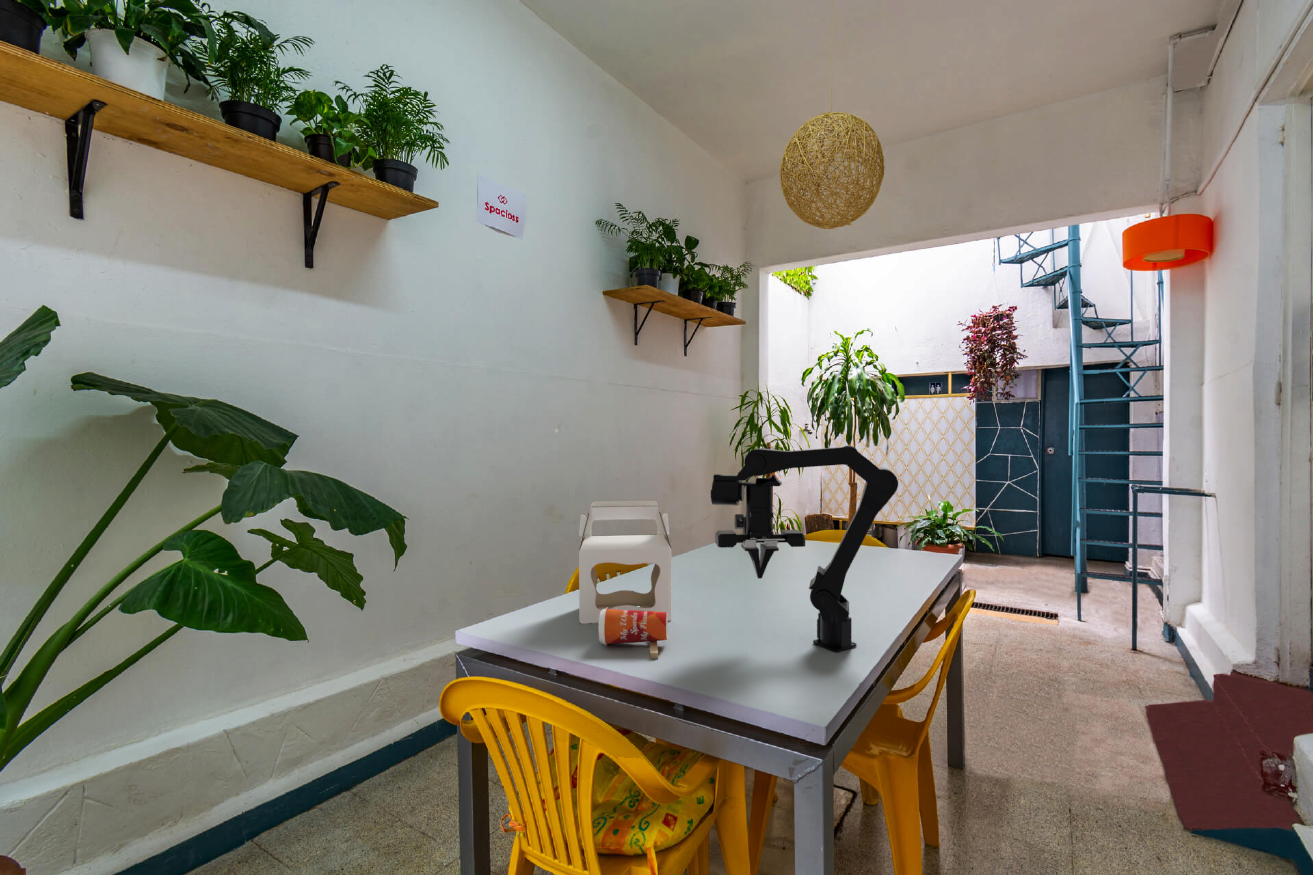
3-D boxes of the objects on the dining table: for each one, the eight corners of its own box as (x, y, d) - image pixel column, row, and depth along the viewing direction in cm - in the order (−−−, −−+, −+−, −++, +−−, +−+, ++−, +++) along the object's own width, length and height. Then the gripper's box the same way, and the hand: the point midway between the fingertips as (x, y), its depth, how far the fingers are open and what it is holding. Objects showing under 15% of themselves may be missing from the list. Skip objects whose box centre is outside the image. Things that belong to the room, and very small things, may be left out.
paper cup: (665, 640, 120) (596, 641, 121) (668, 648, 127) (602, 649, 128) (666, 602, 124) (599, 602, 125) (668, 611, 131) (604, 612, 132)
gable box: (578, 624, 140) (577, 504, 140) (580, 607, 153) (579, 498, 153) (672, 621, 142) (672, 503, 142) (666, 605, 155) (666, 497, 155)
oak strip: (649, 637, 131) (649, 632, 131) (656, 637, 131) (656, 632, 131) (650, 658, 119) (650, 652, 119) (657, 658, 119) (657, 652, 119)
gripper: (792, 501, 139) (792, 568, 139) (711, 502, 138) (712, 569, 138) (806, 507, 127) (806, 581, 128) (718, 508, 127) (718, 582, 127)
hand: (759, 578), depth 130 cm, fingers closed
